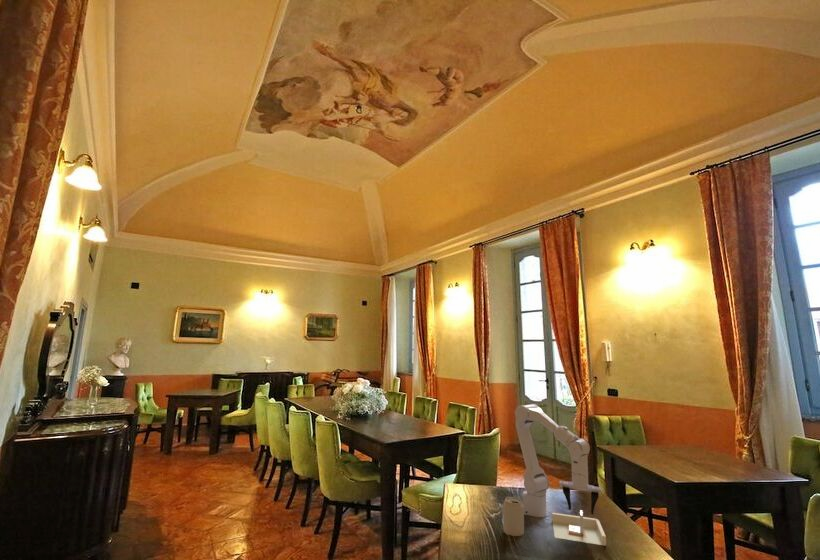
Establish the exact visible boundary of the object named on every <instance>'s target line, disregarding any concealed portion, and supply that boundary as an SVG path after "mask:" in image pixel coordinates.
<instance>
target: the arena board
mask: <svg viewBox="0 0 820 560" xmlns="http://www.w3.org/2000/svg"><path fill="white" fill-rule="evenodd" d="M573 526H576V525H573ZM578 527H580V526H578ZM552 529H553V535H554V538H555V539H561V540H569V541H574V542H581V543H586V544H592V545H593V544H594V545H599V546H603V545H602V542H601V540H600V537H599V535H598V532H597V530H596V528H589V527H583V529H584V536H580V535H575V534H570V533H569V524H562V523H556V522H552Z"/></svg>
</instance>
